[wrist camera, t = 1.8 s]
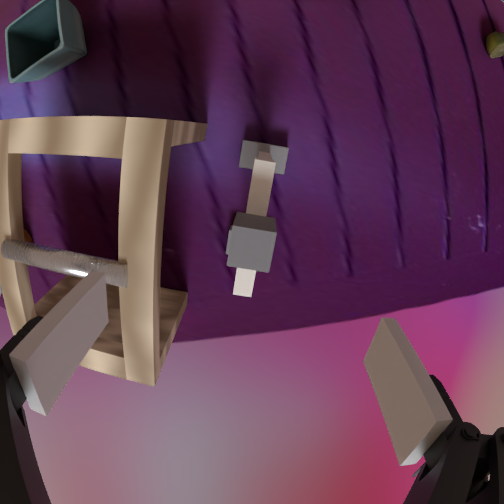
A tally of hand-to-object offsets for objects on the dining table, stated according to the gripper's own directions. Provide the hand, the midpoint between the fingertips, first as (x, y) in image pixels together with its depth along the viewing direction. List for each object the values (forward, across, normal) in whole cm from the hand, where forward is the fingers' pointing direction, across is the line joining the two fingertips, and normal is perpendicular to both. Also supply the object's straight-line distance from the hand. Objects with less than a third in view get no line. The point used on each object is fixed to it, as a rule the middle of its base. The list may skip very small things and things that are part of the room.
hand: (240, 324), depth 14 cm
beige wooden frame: (+25, -16, -4) cm, 30 cm away
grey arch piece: (+25, 0, 0) cm, 25 cm away
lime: (+25, +29, +30) cm, 49 cm away
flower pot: (+25, -28, +18) cm, 42 cm away
